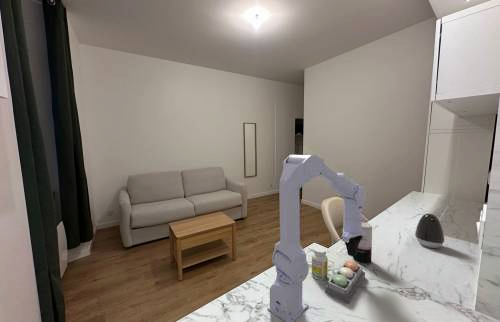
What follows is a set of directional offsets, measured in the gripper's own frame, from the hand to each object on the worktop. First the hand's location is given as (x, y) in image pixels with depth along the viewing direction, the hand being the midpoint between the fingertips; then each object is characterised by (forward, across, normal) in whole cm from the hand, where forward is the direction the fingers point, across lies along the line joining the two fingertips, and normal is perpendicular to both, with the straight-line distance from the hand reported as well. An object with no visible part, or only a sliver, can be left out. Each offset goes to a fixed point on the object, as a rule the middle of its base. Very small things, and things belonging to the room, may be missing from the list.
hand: (351, 255), depth 70 cm
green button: (+5, -11, 0) cm, 12 cm away
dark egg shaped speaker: (+8, +50, -18) cm, 54 cm away
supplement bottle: (+8, -7, +8) cm, 14 cm away
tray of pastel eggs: (+8, -6, 0) cm, 10 cm away
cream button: (+5, -5, 0) cm, 7 cm away
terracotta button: (+5, 0, 0) cm, 5 cm away
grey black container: (+8, +14, 0) cm, 17 cm away
